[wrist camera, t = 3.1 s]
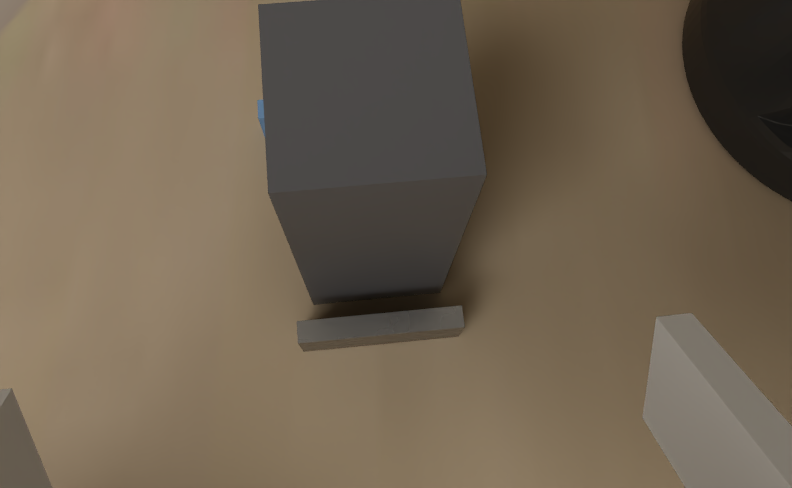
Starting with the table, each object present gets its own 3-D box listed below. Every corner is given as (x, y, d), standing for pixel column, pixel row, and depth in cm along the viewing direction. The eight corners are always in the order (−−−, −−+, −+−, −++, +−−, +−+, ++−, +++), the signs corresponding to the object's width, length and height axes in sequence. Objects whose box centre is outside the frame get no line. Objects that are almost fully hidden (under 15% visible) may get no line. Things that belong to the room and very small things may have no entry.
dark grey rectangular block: (425, 176, 29) (458, -10, 17) (439, 292, 27) (486, 174, 16) (305, 186, 28) (258, 4, 17) (313, 304, 27) (268, 193, 16)
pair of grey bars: (432, 135, 29) (436, 113, 27) (458, 336, 27) (464, 327, 25) (290, 147, 29) (284, 125, 27) (303, 351, 26) (298, 343, 25)
